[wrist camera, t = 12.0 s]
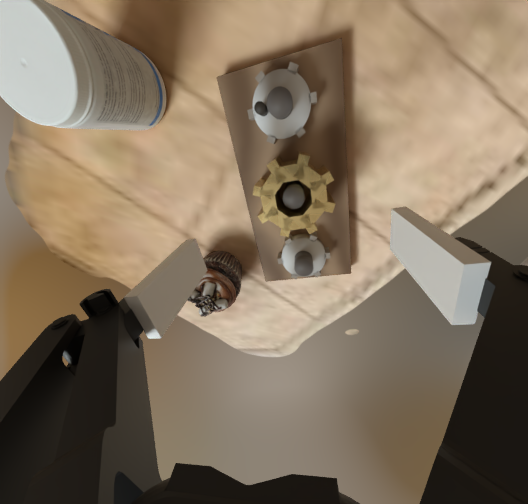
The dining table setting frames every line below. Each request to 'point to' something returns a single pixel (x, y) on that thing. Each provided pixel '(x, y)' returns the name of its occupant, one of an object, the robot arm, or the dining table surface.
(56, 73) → the supplement tub
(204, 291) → the cupcake
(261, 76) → the gear board
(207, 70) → the dining table surface
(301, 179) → the brass gear
